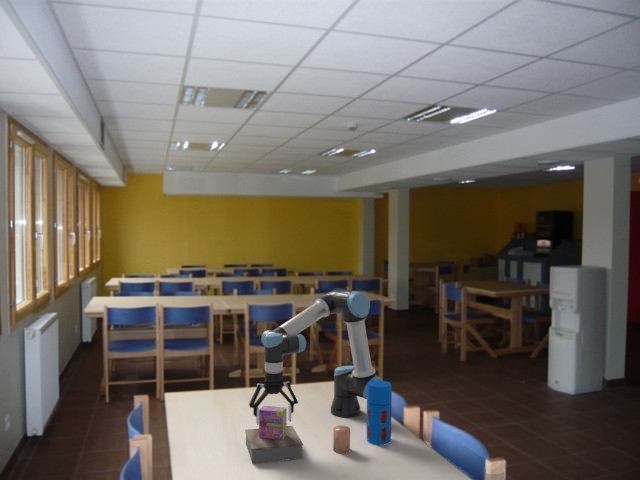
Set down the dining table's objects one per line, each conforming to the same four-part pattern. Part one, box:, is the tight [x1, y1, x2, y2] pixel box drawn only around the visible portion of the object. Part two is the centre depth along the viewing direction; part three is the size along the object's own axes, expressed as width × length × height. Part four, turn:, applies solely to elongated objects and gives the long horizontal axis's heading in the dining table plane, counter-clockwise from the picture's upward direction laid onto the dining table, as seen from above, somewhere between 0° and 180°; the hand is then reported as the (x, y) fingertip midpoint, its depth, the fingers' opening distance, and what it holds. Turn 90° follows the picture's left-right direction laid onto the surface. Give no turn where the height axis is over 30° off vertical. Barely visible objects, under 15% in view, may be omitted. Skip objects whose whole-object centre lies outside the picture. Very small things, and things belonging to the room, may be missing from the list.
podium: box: [244, 425, 304, 464], centre depth 217 cm, size 21×21×6 cm
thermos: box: [365, 380, 393, 446], centre depth 230 cm, size 11×11×25 cm
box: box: [258, 405, 288, 440], centre depth 217 cm, size 10×6×12 cm, turn 79°
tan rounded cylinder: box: [332, 425, 351, 455], centre depth 219 cm, size 7×7×9 cm
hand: (273, 422), depth 217 cm, fingers open, 13 cm apart
